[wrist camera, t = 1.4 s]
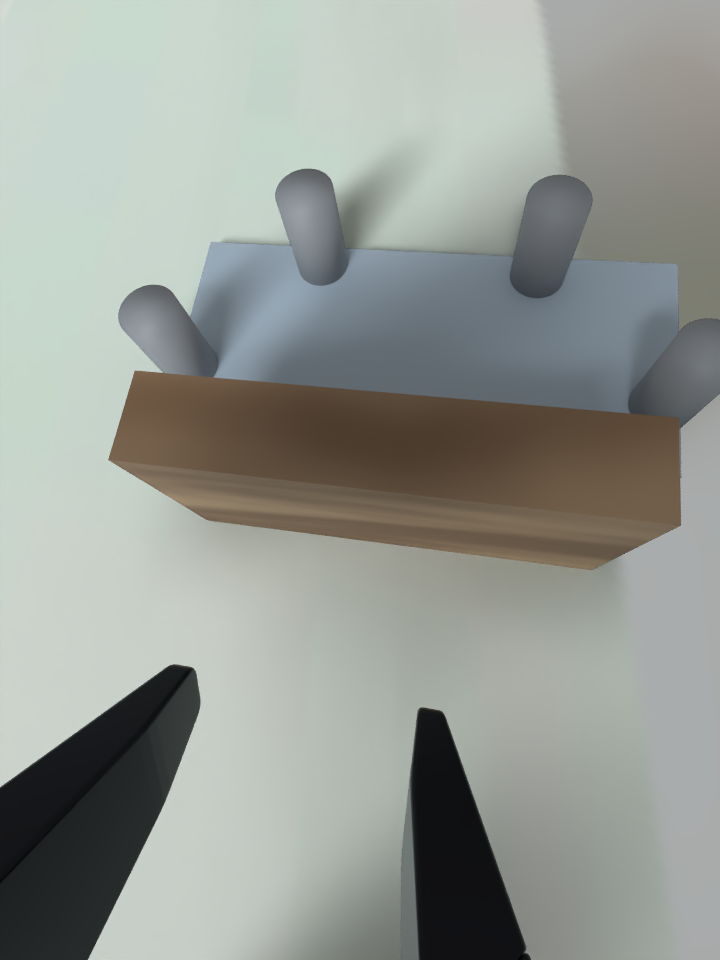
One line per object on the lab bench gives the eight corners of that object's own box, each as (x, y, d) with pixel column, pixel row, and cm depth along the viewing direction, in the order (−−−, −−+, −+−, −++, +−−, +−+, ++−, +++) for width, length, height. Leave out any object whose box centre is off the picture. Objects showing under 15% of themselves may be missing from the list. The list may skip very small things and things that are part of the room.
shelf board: (590, 570, 22) (680, 525, 14) (208, 520, 24) (108, 459, 16) (593, 497, 22) (679, 417, 15) (223, 456, 25) (134, 370, 17)
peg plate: (685, 482, 22) (757, 436, 17) (158, 428, 25) (97, 377, 21) (681, 269, 25) (741, 179, 20) (208, 246, 28) (165, 165, 24)
